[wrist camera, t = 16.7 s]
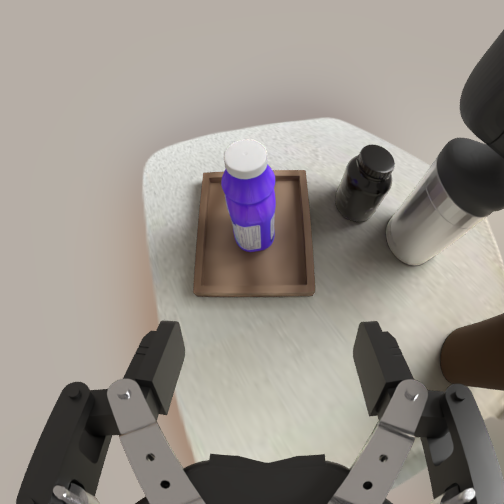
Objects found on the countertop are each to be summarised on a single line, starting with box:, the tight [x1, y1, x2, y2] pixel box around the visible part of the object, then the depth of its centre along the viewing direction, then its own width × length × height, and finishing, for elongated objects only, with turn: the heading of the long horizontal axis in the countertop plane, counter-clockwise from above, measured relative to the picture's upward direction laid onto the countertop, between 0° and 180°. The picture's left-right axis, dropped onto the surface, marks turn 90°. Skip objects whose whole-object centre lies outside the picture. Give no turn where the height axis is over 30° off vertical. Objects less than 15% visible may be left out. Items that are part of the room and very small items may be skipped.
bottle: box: [221, 139, 276, 252], centre depth 33 cm, size 7×6×17 cm
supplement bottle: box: [335, 145, 395, 222], centre depth 38 cm, size 7×7×12 cm
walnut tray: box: [193, 170, 315, 297], centre depth 41 cm, size 16×19×2 cm
